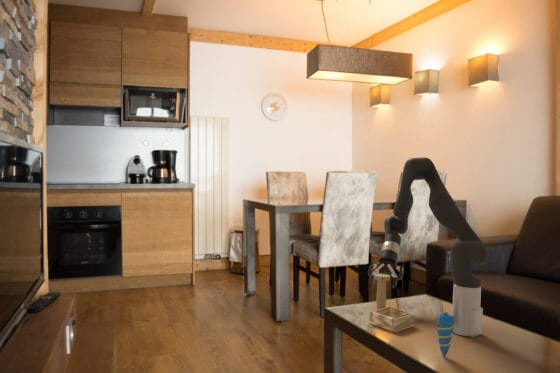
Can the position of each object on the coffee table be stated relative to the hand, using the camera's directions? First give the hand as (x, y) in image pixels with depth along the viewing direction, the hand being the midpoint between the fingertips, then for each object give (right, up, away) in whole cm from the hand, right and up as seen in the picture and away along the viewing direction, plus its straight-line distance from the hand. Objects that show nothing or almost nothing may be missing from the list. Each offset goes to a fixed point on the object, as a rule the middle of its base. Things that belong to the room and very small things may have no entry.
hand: (382, 285), depth 190 cm
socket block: (0, -11, -17) cm, 20 cm away
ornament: (+9, -12, -47) cm, 50 cm away
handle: (-1, -11, -1) cm, 11 cm away
